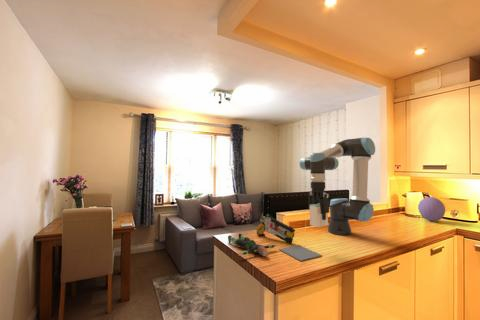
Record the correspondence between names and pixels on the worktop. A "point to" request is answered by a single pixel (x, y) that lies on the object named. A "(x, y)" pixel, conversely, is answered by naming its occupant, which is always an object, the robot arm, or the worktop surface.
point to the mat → (300, 253)
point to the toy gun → (275, 229)
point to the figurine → (249, 245)
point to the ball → (431, 208)
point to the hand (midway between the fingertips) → (318, 224)
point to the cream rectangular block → (316, 215)
